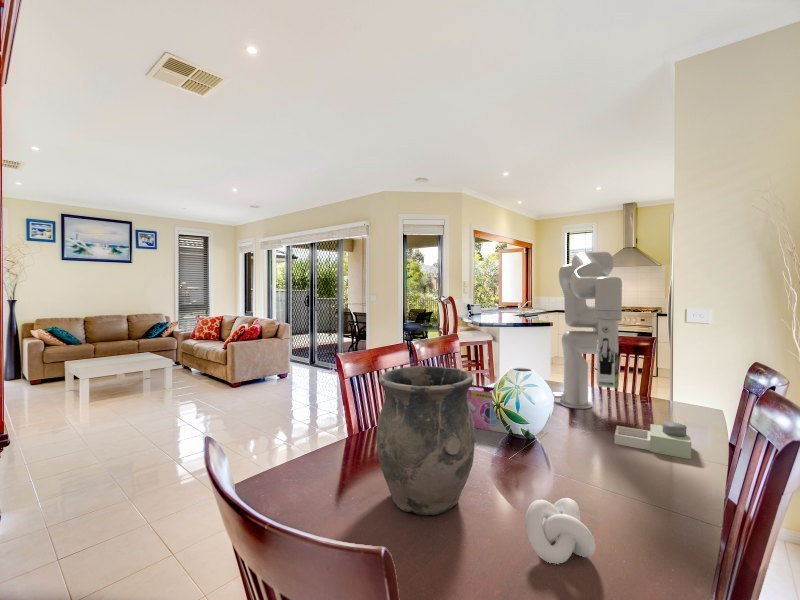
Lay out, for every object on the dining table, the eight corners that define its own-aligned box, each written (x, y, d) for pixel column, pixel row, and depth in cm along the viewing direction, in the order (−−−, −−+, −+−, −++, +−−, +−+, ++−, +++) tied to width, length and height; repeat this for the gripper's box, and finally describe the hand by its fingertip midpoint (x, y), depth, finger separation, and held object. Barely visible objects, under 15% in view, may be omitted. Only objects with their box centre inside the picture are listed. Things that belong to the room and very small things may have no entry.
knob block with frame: (614, 445, 124) (614, 421, 124) (616, 433, 134) (617, 411, 134) (691, 459, 113) (691, 433, 113) (687, 445, 123) (688, 421, 123)
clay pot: (380, 476, 104) (380, 363, 103) (467, 477, 103) (467, 364, 102) (372, 527, 81) (371, 384, 81) (482, 529, 81) (483, 385, 80)
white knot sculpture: (524, 526, 82) (525, 484, 81) (587, 537, 78) (588, 493, 78) (525, 563, 71) (526, 514, 71) (599, 577, 67) (599, 525, 67)
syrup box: (597, 386, 123) (598, 340, 122) (596, 382, 128) (596, 338, 128) (618, 388, 121) (618, 341, 120) (616, 384, 126) (616, 339, 126)
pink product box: (533, 430, 137) (533, 392, 137) (528, 437, 130) (528, 397, 130) (468, 419, 149) (468, 384, 149) (460, 425, 142) (460, 388, 142)
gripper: (618, 318, 114) (618, 379, 115) (623, 314, 129) (622, 368, 130) (590, 317, 119) (590, 375, 119) (598, 313, 133) (597, 366, 134)
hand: (607, 371), depth 124 cm, fingers closed on syrup box, 6 cm apart
